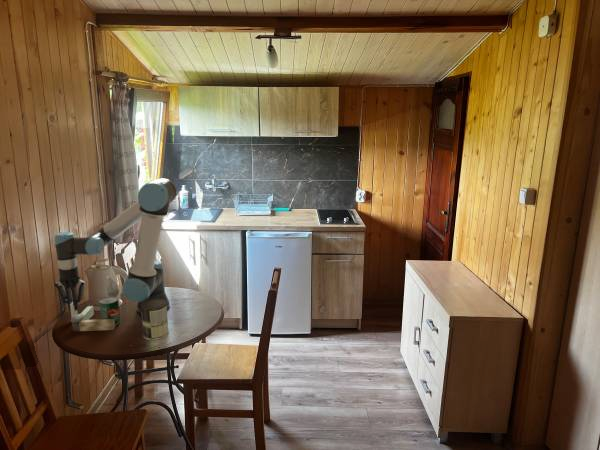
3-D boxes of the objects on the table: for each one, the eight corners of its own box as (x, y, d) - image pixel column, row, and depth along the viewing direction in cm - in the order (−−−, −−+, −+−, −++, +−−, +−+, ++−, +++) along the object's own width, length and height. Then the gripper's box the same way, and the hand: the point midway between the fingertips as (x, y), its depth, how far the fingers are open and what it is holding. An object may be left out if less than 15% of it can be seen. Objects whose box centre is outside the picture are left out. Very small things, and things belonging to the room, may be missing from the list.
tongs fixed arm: (72, 331, 186) (70, 323, 185) (75, 328, 189) (74, 319, 188) (113, 330, 187) (112, 321, 186) (115, 327, 190) (114, 318, 189)
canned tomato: (105, 319, 198) (102, 296, 195) (122, 318, 198) (120, 296, 196) (98, 327, 190) (96, 303, 188) (117, 326, 191) (114, 303, 188)
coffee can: (139, 340, 178) (136, 308, 175) (148, 328, 188) (146, 298, 185) (164, 340, 178) (161, 308, 175) (172, 329, 188) (169, 298, 185)
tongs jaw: (80, 331, 186) (78, 320, 184) (70, 331, 185) (69, 320, 184) (95, 314, 203) (94, 303, 202) (86, 314, 202) (85, 303, 201)
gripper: (86, 264, 196) (92, 312, 201) (56, 265, 195) (63, 313, 200) (79, 269, 189) (86, 319, 194) (48, 270, 188) (55, 320, 193)
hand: (74, 316), depth 197 cm, fingers closed
